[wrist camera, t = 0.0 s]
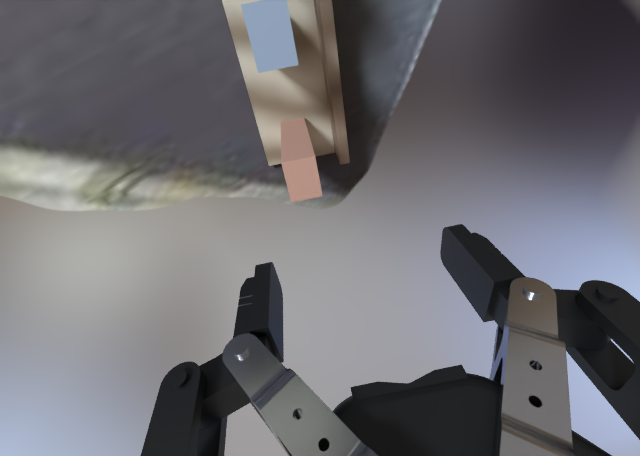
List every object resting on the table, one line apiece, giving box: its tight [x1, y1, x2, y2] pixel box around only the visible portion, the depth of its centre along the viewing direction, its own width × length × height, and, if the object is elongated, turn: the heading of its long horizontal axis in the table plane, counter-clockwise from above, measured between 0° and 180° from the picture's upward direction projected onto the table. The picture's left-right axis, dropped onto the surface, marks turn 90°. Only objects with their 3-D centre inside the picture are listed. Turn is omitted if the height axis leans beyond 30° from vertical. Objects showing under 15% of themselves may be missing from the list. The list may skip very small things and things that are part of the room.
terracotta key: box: [281, 117, 322, 202], centre depth 32 cm, size 4×3×14 cm
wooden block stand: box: [222, 0, 350, 166], centre depth 30 cm, size 29×10×6 cm, turn 9°
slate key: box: [241, 0, 299, 73], centre depth 26 cm, size 4×3×14 cm
